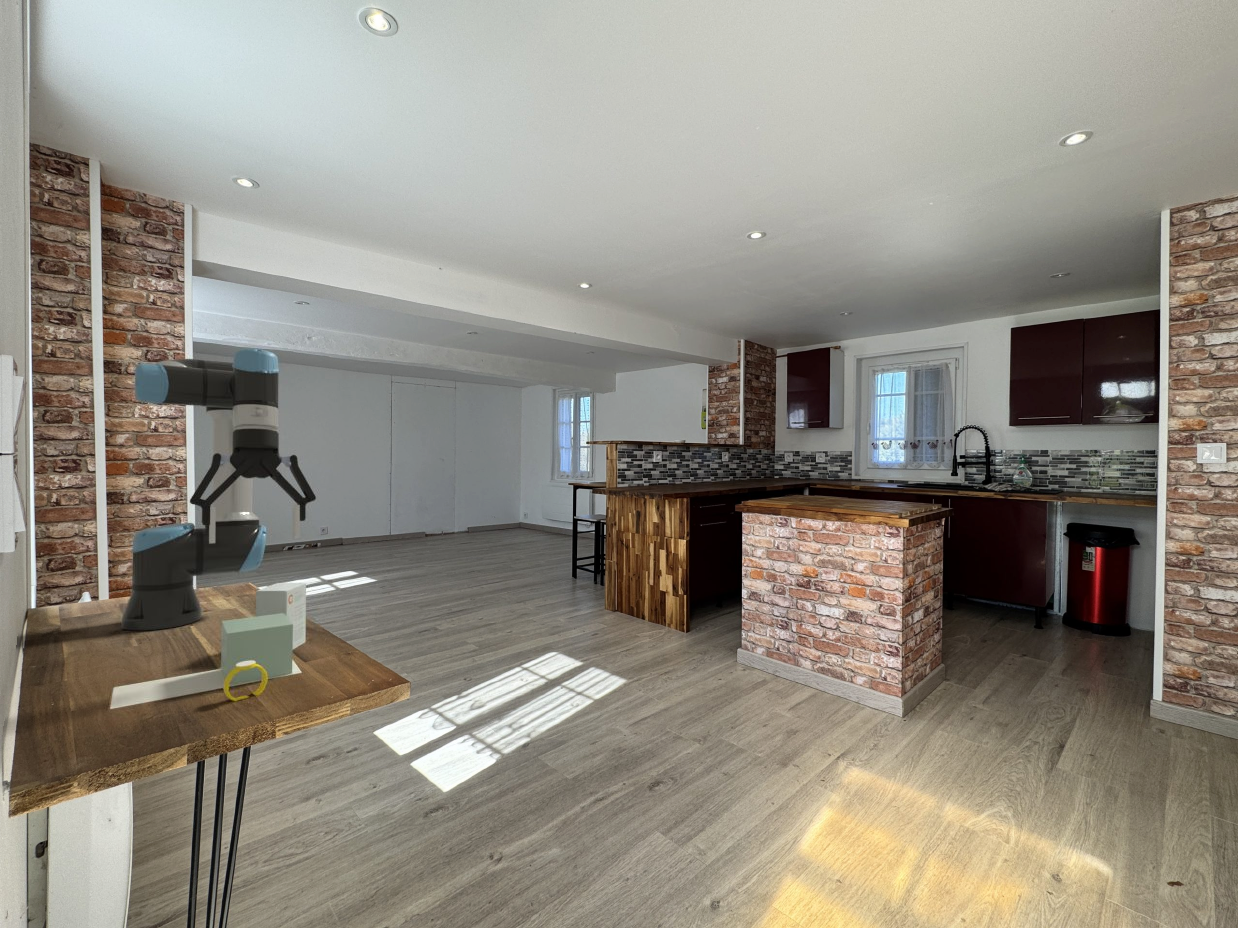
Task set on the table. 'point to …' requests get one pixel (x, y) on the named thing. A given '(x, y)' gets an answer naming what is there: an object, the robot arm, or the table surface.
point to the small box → (285, 606)
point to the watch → (245, 666)
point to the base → (173, 687)
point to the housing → (257, 646)
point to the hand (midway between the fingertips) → (255, 540)
